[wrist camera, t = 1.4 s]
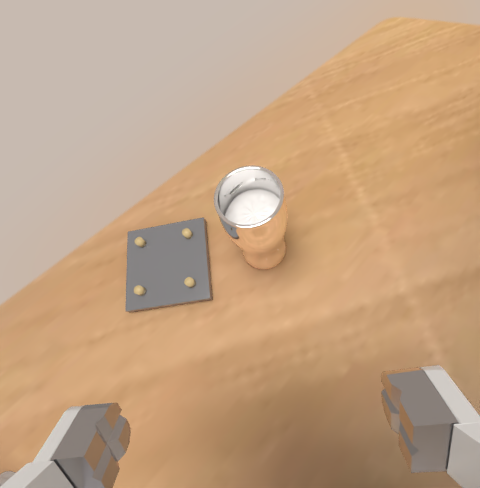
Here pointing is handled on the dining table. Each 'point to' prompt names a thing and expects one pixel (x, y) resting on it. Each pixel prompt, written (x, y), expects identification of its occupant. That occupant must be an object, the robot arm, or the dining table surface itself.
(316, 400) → the dining table surface
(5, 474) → the chalice
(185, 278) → the coaster
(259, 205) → the beer glass
